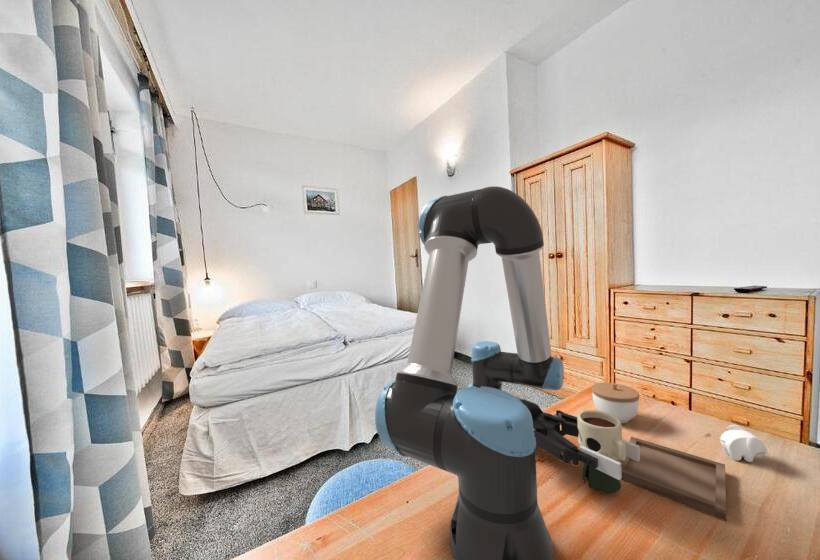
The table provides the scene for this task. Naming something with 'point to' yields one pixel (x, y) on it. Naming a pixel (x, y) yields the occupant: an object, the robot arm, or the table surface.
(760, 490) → the table surface
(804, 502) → the table surface
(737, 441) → the elephant figurine
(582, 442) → the character mug
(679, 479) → the walnut tray
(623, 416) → the lidded jar
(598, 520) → the table surface
